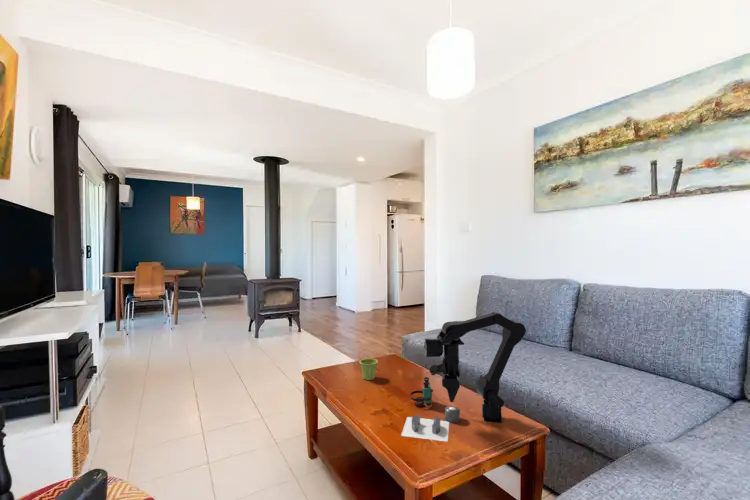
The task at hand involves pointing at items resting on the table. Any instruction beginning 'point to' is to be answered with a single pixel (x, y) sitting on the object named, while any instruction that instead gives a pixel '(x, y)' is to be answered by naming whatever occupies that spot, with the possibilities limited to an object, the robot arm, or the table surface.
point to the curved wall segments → (434, 426)
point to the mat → (426, 430)
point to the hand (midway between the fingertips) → (452, 396)
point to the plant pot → (368, 368)
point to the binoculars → (424, 395)
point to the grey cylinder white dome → (452, 414)
